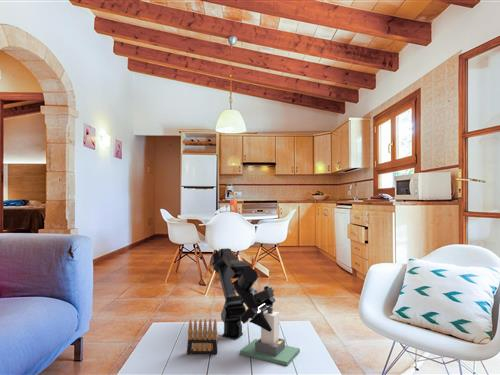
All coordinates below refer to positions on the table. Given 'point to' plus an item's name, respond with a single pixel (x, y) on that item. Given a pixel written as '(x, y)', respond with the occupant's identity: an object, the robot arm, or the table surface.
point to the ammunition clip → (202, 339)
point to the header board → (271, 351)
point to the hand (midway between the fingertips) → (273, 328)
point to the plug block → (273, 321)
